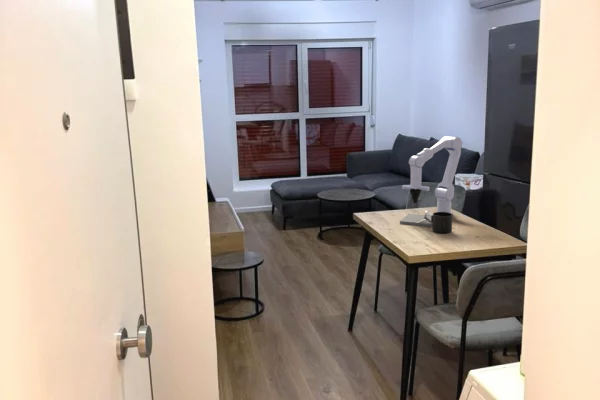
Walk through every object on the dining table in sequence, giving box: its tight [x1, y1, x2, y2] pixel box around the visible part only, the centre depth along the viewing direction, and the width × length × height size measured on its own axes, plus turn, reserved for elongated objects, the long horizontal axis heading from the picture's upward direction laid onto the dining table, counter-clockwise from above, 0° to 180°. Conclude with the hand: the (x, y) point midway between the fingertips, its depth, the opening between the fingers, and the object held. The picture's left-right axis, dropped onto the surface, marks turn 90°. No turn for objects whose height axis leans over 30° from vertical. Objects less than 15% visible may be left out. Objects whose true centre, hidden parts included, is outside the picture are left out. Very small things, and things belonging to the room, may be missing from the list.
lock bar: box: [424, 210, 433, 222], centre depth 286 cm, size 12×3×3 cm, turn 4°
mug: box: [431, 211, 453, 235], centre depth 270 cm, size 9×12×9 cm
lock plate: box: [399, 213, 433, 228], centre depth 290 cm, size 18×22×2 cm
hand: (415, 202), depth 293 cm, fingers closed
